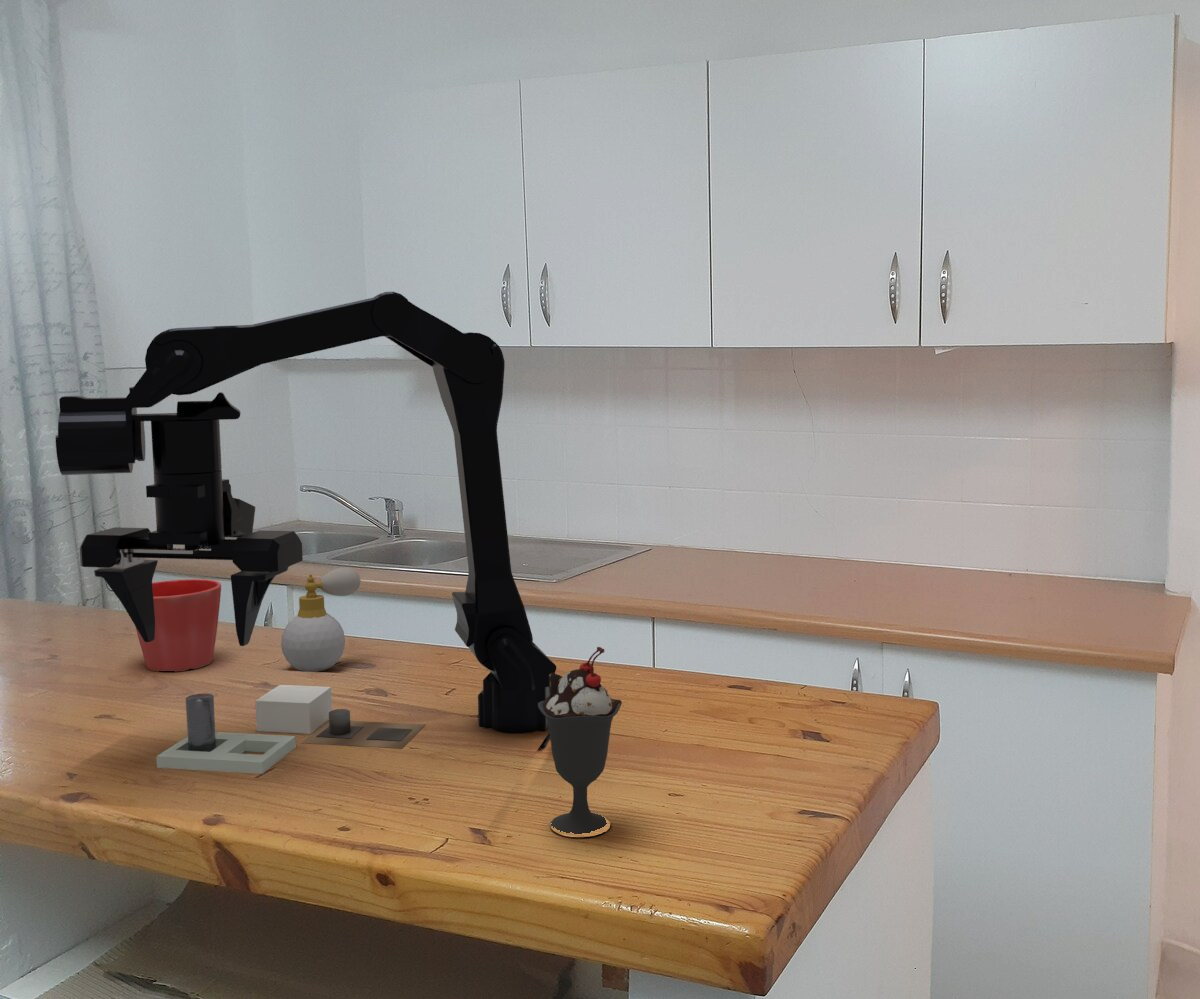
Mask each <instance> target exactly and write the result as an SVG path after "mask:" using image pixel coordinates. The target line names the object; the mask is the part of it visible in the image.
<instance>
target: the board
mask: <svg viewBox="0 0 1200 999" xmlns="http://www.w3.org/2000/svg"><path fill="white" fill-rule="evenodd" d="M425 726H427V725H426V724H423V723H405V722H382V721H363V720H362V721H361V720H351V710H349V709H346V708H344V709H343V708H338V709H332V711H330V712H329V719H328V720H327V721H326V722H324V723H323V724H322V725H321V726H319V727H318V728H317V729H316V730H314V731H313V732H312V733H311V734H309V735H308V736H307V737H306V738H305V739H304V740H302V741H301V742H300V744H304V745H306V744H307V745H322V746H323V745H325V746H342V747H344V746H345V747H346V746H347V747H358V748H359V747H360V748H361V747H362V748H363V747H364V748H382V749H401V750H402V749H404V747H406V746H407V745H408V744H409V743H410V742H411V740H413V739H414V737H416V736H417V735H418V734H419V733H420V732H421V730H422V729H423V728H424V727H425Z"/></svg>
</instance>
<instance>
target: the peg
mask: <svg viewBox="0 0 1200 999" xmlns="http://www.w3.org/2000/svg"><path fill="white" fill-rule="evenodd" d="M214 700H215V697H214V694H211V693H196V694H191V695H188V696H187V697H185V711H186V713H185V714H186V729H187V737H188V751H204V752H211V751H212V750H214V749H215V748H216V735H215V732H216V722H215V720H216V718H215V701H214Z"/></svg>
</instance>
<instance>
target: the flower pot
mask: <svg viewBox="0 0 1200 999" xmlns="http://www.w3.org/2000/svg"><path fill="white" fill-rule="evenodd" d="M221 583H222V582H220V581H217V580H212V579H203V578H202V579H200V578H199V579H198V578H192V579H191V578H189V579H187V578H186V579H173V580H172V579H171V580H161V581H155V582H152V587H153V600H154V613H155V639H154V640H153V641H151V642H145V641H144V640H143V638H142V637H141V635H140V633H139V631H138V630H137V628H136V626H135V625H134V626H135V630H136V633H137V634H136V635H137V638H138V641H139V645H140V647H141V648H140V649H141V652H142V656H143V659H144V662H145V666H146V667H147V670H150V671H152V672H153V671H154V672H159V671H175V672H182V671H188V670H189V669H191V670H192V669H193V670H195V669H199V668H203V667H205V666H207V665H209V664H211V663H212V662H213V660H214V654H215V653H214V652H215V646H216V639H217V634H218V633H217V632H218V624H219V617H220V616H219V615H220V604H221V595H222V584H221Z"/></svg>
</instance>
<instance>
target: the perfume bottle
mask: <svg viewBox="0 0 1200 999" xmlns="http://www.w3.org/2000/svg"><path fill="white" fill-rule="evenodd" d="M308 575H309V576H308V577H307V579H306V581H307V582H306V583H305V584H304V588H305V590H306V591H307V592H306V594H305V595H301V596H299V597H298V604H299V609H298V612H297V615H295V616H294V617H292V618H291V620H289V621H288V622H287V624H286V626H285V627H284V629H283V632H282V634H281V640H280V641H281V643H280V645H281V651H282V655H283V656H284V659H285V660H286V661H287V663H288V664H289V665H290V666H291V667H293V668H294V669H296V670H298V671H300V672H305V673H306V672H307V673H310V672H311V673H315V672H316V673H317V672H323V671H326V670H328V669H330V668H332V667H333V666H335V664H337V663H338V662H339V660H340V659H341V657H342V656H343V653H344V650H345V648H346V647H345V645H346V637H345V632H344V629H343V627H342V625H341V624H340V622H339V620H337V619H336V618H335V617H334V616H333V615H331V614H329V613H327V611H326V610H327V609H325V596H324V595H321V594H317V592H316V590H317V588H318V589H320V590H321V591H322V592H324V593H326V594H327V595H332V596H336V597H346V596H349V595H352V594H354V593H355V592H357V591H358V590H359V588H360V586H361V576H360V573H358V571H357V570H356V569H354V568H352V567H347V566H345V567H344V566H342V567H338V568H335V569H333V570H332V569H331V570H330V571H329V572H328V571H327V573H326V574H324V575H323V576H322V577H321V579H320V580H319V582H315V577H314V576H313V574H308Z"/></svg>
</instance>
